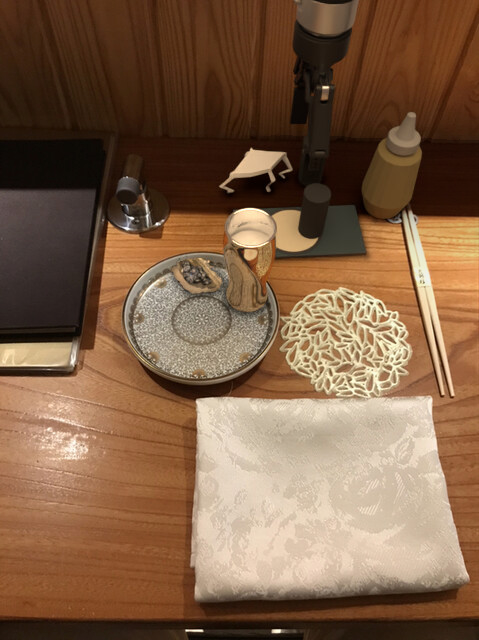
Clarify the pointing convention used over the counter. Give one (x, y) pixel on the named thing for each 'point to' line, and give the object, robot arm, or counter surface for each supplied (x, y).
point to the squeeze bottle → (393, 171)
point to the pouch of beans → (196, 275)
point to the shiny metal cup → (249, 257)
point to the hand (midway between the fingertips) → (303, 150)
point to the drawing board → (335, 240)
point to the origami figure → (258, 166)
